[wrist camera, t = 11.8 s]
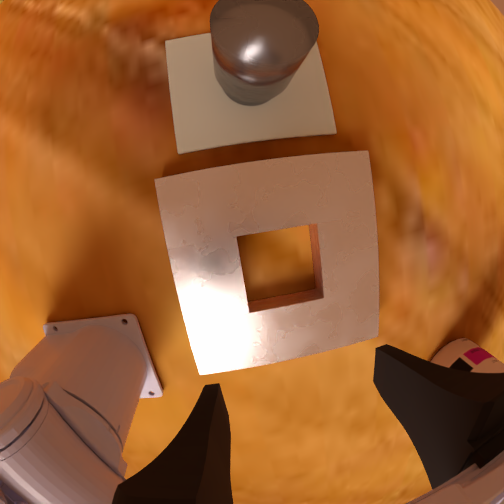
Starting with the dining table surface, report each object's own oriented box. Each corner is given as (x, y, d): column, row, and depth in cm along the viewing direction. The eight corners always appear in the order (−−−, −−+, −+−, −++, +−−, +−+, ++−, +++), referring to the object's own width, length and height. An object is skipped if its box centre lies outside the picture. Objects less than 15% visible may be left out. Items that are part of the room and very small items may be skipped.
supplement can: (469, 321, 24) (563, 384, 10) (469, 369, 26) (541, 432, 12) (415, 362, 24) (504, 453, 10) (420, 406, 26) (486, 487, 12)
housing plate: (201, 360, 22) (199, 374, 20) (161, 180, 19) (154, 179, 17) (367, 325, 23) (378, 336, 21) (355, 153, 20) (368, 150, 18)
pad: (179, 154, 18) (177, 153, 18) (166, 43, 16) (165, 41, 16) (334, 134, 19) (336, 133, 19) (310, 30, 17) (312, 27, 17)
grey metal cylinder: (220, 116, 18) (216, 69, 10) (211, 56, 17) (204, -10, 9) (290, 107, 18) (329, 62, 10) (278, 49, 17) (305, -14, 9)
